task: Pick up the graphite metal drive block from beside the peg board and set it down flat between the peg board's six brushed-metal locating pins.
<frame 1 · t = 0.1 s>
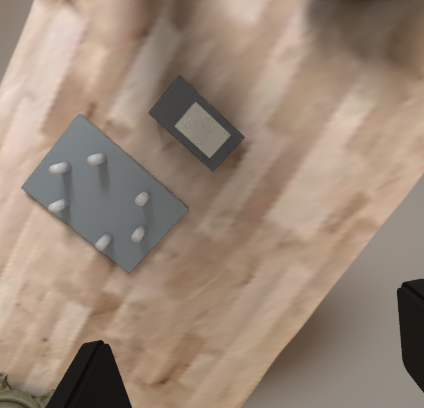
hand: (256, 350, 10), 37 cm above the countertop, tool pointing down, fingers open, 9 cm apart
peg board: (107, 196, 47), on the countertop
samovar: (33, 397, 57), on the countertop
drive: (198, 124, 44), on the countertop
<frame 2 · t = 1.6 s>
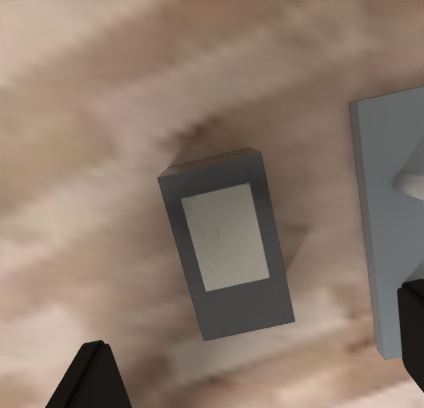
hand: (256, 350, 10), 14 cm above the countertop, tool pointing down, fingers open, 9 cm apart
drive: (226, 228, 24), on the countertop
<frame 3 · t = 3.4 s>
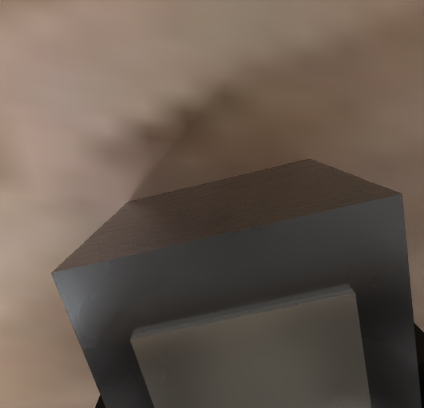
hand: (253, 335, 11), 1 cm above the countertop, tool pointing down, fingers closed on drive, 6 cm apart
drive: (251, 325, 11), on the countertop, touching gripper
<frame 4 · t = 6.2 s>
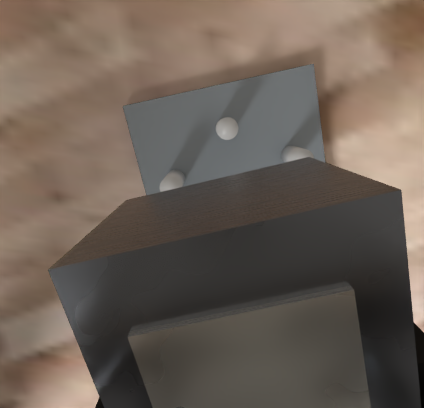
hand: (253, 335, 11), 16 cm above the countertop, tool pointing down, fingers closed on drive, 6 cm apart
peg board: (240, 211, 26), on the countertop
drive: (251, 324, 11), point 15 cm above the countertop, touching gripper
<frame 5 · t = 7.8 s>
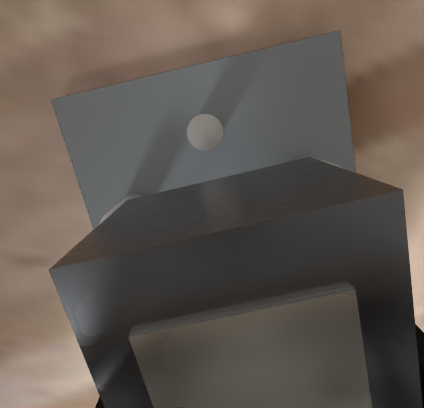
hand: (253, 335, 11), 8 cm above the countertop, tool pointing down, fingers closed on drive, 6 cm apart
peg board: (232, 249, 18), on the countertop
drive: (251, 324, 11), point 7 cm above the countertop, touching gripper
when the fingers open (3 cm above the countertop, at t = 9.1 s): drive drops 2 cm, resting on peg board.
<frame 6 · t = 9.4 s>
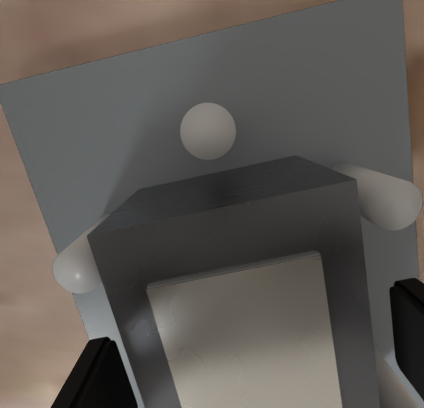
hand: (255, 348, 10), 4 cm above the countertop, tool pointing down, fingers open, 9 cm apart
peg board: (243, 283, 14), on the countertop
drive: (244, 300, 13), point 1 cm above the countertop, touching peg board
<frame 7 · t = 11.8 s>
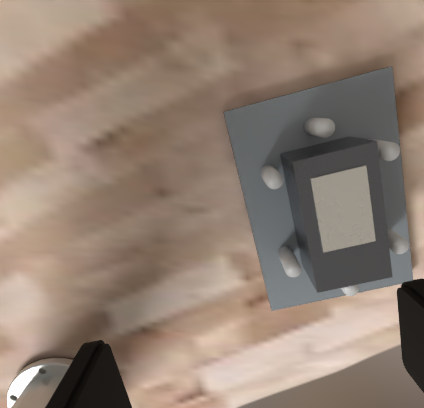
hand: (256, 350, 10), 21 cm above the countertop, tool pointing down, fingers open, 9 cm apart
peg board: (321, 198, 30), on the countertop
drive: (323, 204, 29), point 1 cm above the countertop, touching peg board
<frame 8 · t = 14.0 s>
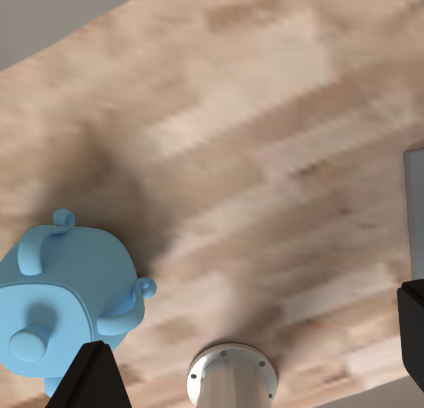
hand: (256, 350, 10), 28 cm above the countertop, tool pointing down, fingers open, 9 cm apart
decorative pot: (87, 274, 41), on the countertop
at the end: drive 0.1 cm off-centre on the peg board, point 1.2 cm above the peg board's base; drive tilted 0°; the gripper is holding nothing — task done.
